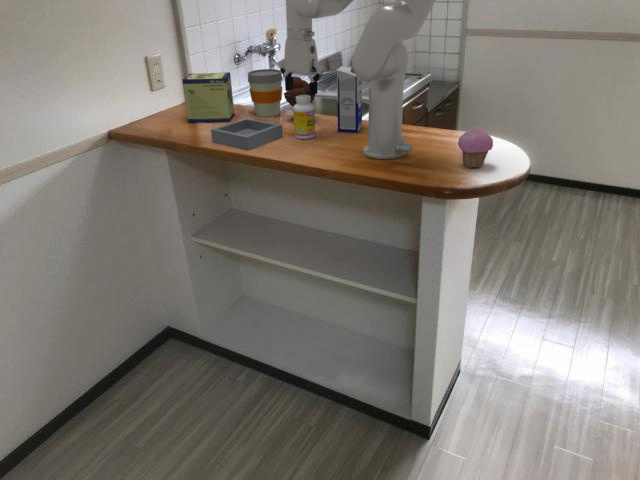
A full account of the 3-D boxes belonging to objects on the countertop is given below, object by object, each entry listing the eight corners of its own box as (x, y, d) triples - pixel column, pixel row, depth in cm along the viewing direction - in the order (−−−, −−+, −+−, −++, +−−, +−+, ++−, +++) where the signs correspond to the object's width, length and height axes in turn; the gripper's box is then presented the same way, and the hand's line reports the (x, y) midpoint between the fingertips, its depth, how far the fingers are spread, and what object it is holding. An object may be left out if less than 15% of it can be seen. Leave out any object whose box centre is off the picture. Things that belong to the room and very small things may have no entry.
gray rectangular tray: (282, 136, 175) (282, 124, 173) (248, 150, 164) (246, 137, 162) (247, 129, 184) (246, 117, 182) (212, 141, 173) (210, 129, 171)
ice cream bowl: (303, 125, 186) (301, 81, 179) (279, 120, 192) (276, 77, 185) (322, 118, 194) (321, 75, 187) (298, 114, 200) (296, 72, 193)
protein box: (230, 122, 193) (226, 77, 186) (187, 123, 193) (181, 79, 186) (235, 114, 202) (230, 71, 195) (194, 115, 203) (188, 73, 195)
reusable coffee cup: (269, 107, 210) (266, 67, 203) (291, 112, 202) (289, 71, 195) (244, 114, 202) (240, 73, 195) (265, 120, 194) (262, 77, 187)
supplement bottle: (308, 140, 171) (306, 99, 165) (290, 138, 174) (288, 98, 168) (318, 134, 176) (317, 95, 170) (301, 132, 179) (299, 93, 173)
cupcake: (484, 160, 150) (488, 124, 145) (494, 171, 142) (498, 134, 137) (452, 161, 150) (455, 126, 145) (460, 172, 142) (463, 135, 137)
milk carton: (342, 126, 184) (341, 65, 175) (362, 127, 182) (362, 65, 173) (337, 132, 178) (336, 69, 169) (357, 133, 176) (357, 69, 167)
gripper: (330, 35, 158) (330, 93, 167) (285, 30, 168) (288, 86, 176) (314, 38, 153) (315, 99, 161) (269, 33, 162) (272, 91, 171)
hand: (301, 92), depth 169 cm, fingers open, 9 cm apart
